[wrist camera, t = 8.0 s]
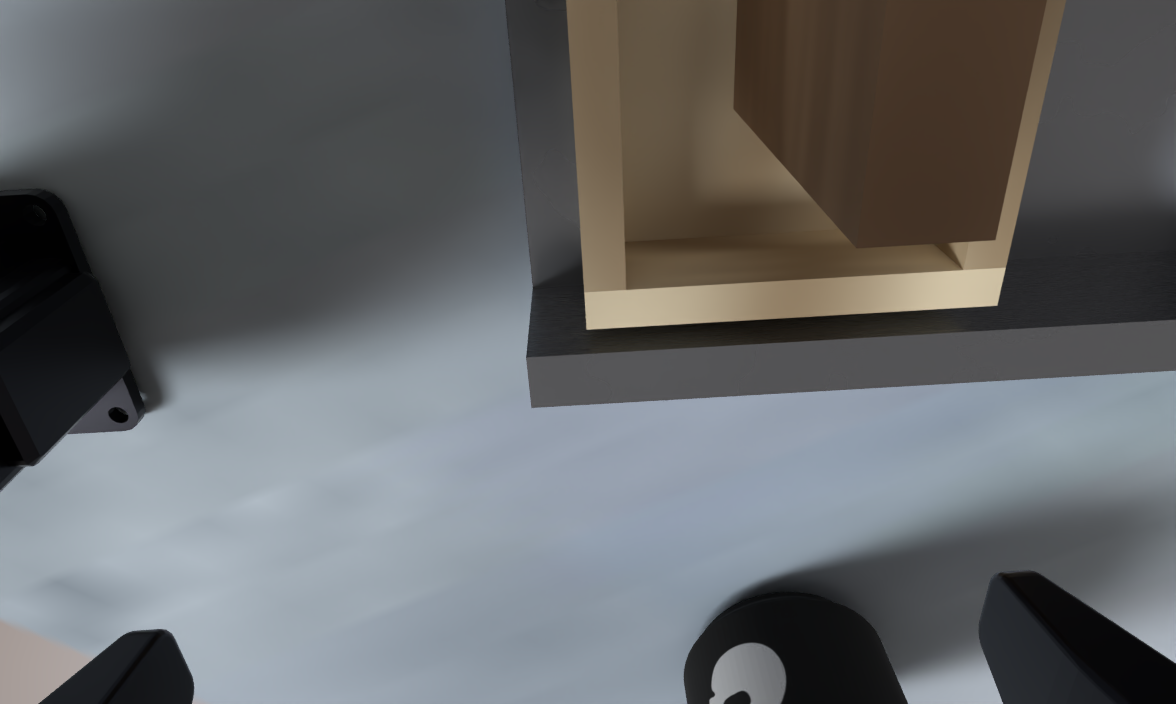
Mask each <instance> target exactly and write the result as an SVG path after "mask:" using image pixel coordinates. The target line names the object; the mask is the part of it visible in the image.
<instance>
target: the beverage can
mask: <svg viewBox="0 0 1176 704" xmlns="http://www.w3.org/2000/svg"><path fill="white" fill-rule="evenodd" d="M684 685H685V691H686V698H687V704H908V702H907V700H906V698H905V696H904V693H903V691H902V689H901V686H900V684H899V682H898V679H897V677H896V675H895V673H894V670H893V668H892V666H891V663H890V661H889V659H888V657H887V654H886V652H885V650H884V647H883V645H882V643H881V640H880V638H879V636H878V634H877V633H876V631H875V630H874V628H873V627H872V626H871V625H870V624H869V623H868V622H867V621H866V620H865V619H864V618H863V617H862V616H860V615H859V614H857V613H856V612H855V611H853V610H851V609H849V608H847V607H845V606H843V605H840V604H837V603H834V602H832V601H830V600H827V599H825V598H823V597H819V596H815V595H811V594H805V593H795V592H781V593H773V594H766V595H761V596H758V597H754V598H751V599H748V600H745V601H743V602H741V603H739V604H737V605H735V606H733V607H731V608H729V609H728V610H726V611H725V612H723V613H722V614H720V615H719V616H718V617H717V618H716V619H715V620H714V621H713V622H712V623H711V624H710V625H709V626H708V627H707V629H706V630H705V632H704V633H703V634H702V635H701V636H700V637H699V639H698V640H697V641H696V642H695V644H694V645H693V647H692V649H691V650H690V652H689V655H688V657H687V660H686V664H685V669H684Z"/></svg>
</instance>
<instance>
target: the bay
mask: <svg viewBox="0 0 1176 704" xmlns="http://www.w3.org/2000/svg"><path fill="white" fill-rule="evenodd" d="M505 5H506V15H507V25H508V36H509V46H510V56H511V67H512V77H513V87H514V98H515V108H516V118H517V129H518V139H519V149H520V159H521V170H522V180H523V190H524V201H525V211H526V221H527V232H528V242H529V252H530V263H531V273H532V283H533V292H532V302H531V313H530V323H529V334H528V344H527V355H526V360H527V369H528V379H529V388H530V397H531V407H532V408H537V407H554V406H571V405H589V404H606V403H623V402H640V401H658V400H675V399H692V398H710V397H727V396H744V395H761V394H779V393H796V392H813V391H830V390H848V389H865V388H882V387H899V386H917V385H934V384H951V383H969V382H986V381H1003V380H1020V379H1038V378H1055V377H1072V376H1089V375H1107V374H1124V373H1141V372H1158V371H1176V0H1066V3H1065V8H1064V12H1063V17H1062V21H1061V25H1060V30H1059V34H1058V39H1057V43H1056V48H1055V52H1054V56H1053V61H1052V65H1051V70H1050V74H1049V79H1048V83H1047V87H1046V92H1045V96H1044V101H1043V105H1042V110H1041V114H1040V118H1039V123H1038V127H1037V132H1036V136H1035V141H1034V145H1033V149H1032V154H1031V158H1030V163H1029V167H1028V172H1027V176H1026V180H1025V185H1024V189H1023V194H1022V198H1021V203H1020V207H1019V211H1018V216H1017V220H1016V225H1015V229H1014V234H1013V238H1012V242H1011V247H1010V251H1009V256H1008V260H1007V265H1006V269H1005V273H1004V278H1003V282H1002V287H1001V291H1000V296H999V300H998V304H997V306H984V307H967V308H950V309H933V310H915V311H898V312H881V313H864V314H847V315H830V316H813V317H796V318H779V319H762V320H745V321H727V322H710V323H693V324H676V325H659V326H642V327H625V328H608V329H591V330H587V329H586V312H585V296H584V280H583V264H582V248H581V232H580V215H579V199H578V183H577V167H576V151H575V134H574V118H573V102H572V86H571V70H570V54H569V37H568V21H567V5H566V0H505Z"/></svg>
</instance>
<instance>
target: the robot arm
mask: <svg viewBox="0 0 1176 704" xmlns="http://www.w3.org/2000/svg"><path fill="white" fill-rule="evenodd" d="M33 205H36V206H38V207H39V208H41V209H42V210H43V211H44V213H45V214H46V219H47V220H44V219H42V218H40V217H39V216H37V214H36V213H35V211H34V208H33ZM116 407H119V408H122V409H123V410H125V411H126V412H127V414H128V415H126V414H123V413H121V412H119V410H118V409H117V408H116ZM144 414H145V406H144V403H143V401H142V398H141V396H140V393H139V391H138V388H137V386H136V383H135V381H134V378H133V376H132V373H131V370H130V362H129V359H128V357H127V354H126V351H125V349H124V346H123V344H122V341H121V339H120V336H119V334H118V331H117V329H116V326H115V324H114V321H113V319H112V316H111V314H110V311H109V308H108V306H107V303H106V301H105V298H104V296H103V293H102V291H101V288H100V286H99V283H98V281H97V280H96V279H95V278H94V277H93V275H92V272H91V270H90V267H89V265H88V262H87V260H86V257H85V255H84V252H83V250H82V247H81V245H80V242H79V240H78V237H77V234H76V232H75V229H74V227H73V224H72V222H71V219H70V217H69V214H68V212H67V209H66V207H65V206H64V204H63V202H62V201H61V200H60V199H59V198H58V197H57V196H56V195H54V194H53V193H50V192H48V191H46V190H41V189H27V190H10V191H0V492H1V491H2V490H3V489H4V488H5V487H6V486H7V485H8V484H9V483H10V482H11V481H12V480H13V479H14V478H15V477H16V476H17V475H18V474H19V473H20V472H21V471H22V470H23V469H24V468H25V467H26V466H34V465H36V464H38V463H39V462H40V461H41V460H42V459H43V458H44V457H45V456H46V455H47V454H48V453H49V452H50V451H51V450H52V449H53V448H54V447H55V446H56V445H57V444H58V443H59V442H60V441H61V440H62V439H63V438H64V437H65V435H66V434H78V433H96V432H113V431H126V430H130V429H133V428H134V427H135V426H136V425H137V424H138V423H139V422H140V421H141V419H142V418H143V417H144ZM979 638H980V643H981V646H982V649H983V652H984V654H985V657H986V660H987V662H988V665H989V668H990V670H991V673H992V675H993V678H994V681H995V683H996V686H997V689H998V691H999V694H1000V696H1001V699H1002V702H1003V704H1176V663H1174V662H1173V661H1171V660H1170V659H1168V658H1167V657H1165V656H1164V655H1162V654H1161V653H1159V652H1158V651H1156V650H1155V649H1153V648H1152V647H1150V646H1149V645H1147V644H1146V643H1144V642H1143V641H1141V640H1140V639H1138V638H1137V637H1135V636H1134V635H1132V634H1131V633H1129V632H1128V631H1126V630H1124V629H1123V628H1121V627H1120V626H1118V625H1117V624H1115V623H1114V622H1112V621H1111V620H1109V619H1108V618H1106V617H1105V616H1103V615H1102V614H1100V613H1099V612H1097V611H1096V610H1094V609H1093V608H1091V607H1090V606H1088V605H1087V604H1085V603H1084V602H1082V601H1081V600H1079V599H1078V598H1076V597H1075V596H1073V595H1072V594H1070V593H1069V592H1067V591H1066V590H1064V589H1063V588H1061V587H1059V586H1058V585H1056V584H1055V583H1053V582H1052V581H1050V580H1049V579H1047V578H1046V577H1044V576H1043V575H1041V574H1039V573H1037V572H1035V571H1030V570H1024V571H1009V572H999V573H996V574H995V575H994V576H993V577H992V578H991V580H990V583H989V587H988V591H987V595H986V598H985V602H984V606H983V610H982V614H981V618H980V622H979ZM193 696H194V682H193V677H192V675H191V672H190V670H189V668H188V666H187V664H186V662H185V659H184V657H183V655H182V653H181V651H180V649H179V647H178V645H177V642H176V640H175V638H174V636H173V635H172V634H171V633H170V632H169V631H167V630H164V629H154V630H139V631H132V632H129V633H126V634H125V635H123V636H122V637H120V638H119V639H117V640H116V641H115V642H114V643H113V644H111V645H110V646H109V647H108V648H106V649H105V650H104V651H103V652H101V653H100V654H99V655H98V656H97V657H95V658H94V659H93V660H92V661H90V662H89V663H88V664H87V665H86V666H84V667H83V668H82V669H81V670H79V671H78V672H77V673H76V674H75V675H73V676H72V677H71V678H70V679H68V680H67V681H66V682H65V683H63V684H62V685H61V686H60V687H59V688H57V689H56V690H55V691H54V692H52V693H51V694H50V695H49V696H48V697H46V698H45V699H44V700H42V701H41V702H40V703H39V704H192V701H193Z"/></svg>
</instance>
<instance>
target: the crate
mask: <svg viewBox="0 0 1176 704" xmlns="http://www.w3.org/2000/svg"><path fill="white" fill-rule="evenodd" d="M1065 3H1066V0H566V5H567V21H568V37H569V54H570V70H571V86H572V102H573V118H574V134H575V151H576V167H577V183H578V199H579V215H580V232H581V248H582V264H583V280H584V296H585V312H586V329H587V330H591V329H608V328H625V327H642V326H659V325H676V324H693V323H710V322H727V321H745V320H762V319H779V318H796V317H813V316H830V315H847V314H864V313H881V312H898V311H915V310H933V309H950V308H967V307H984V306H997V304H998V300H999V296H1000V291H1001V287H1002V282H1003V278H1004V273H1005V269H1006V265H1007V260H1008V256H1009V251H1010V247H1011V242H1012V238H1013V234H1014V229H1015V225H1016V220H1017V216H1018V211H1019V207H1020V203H1021V198H1022V194H1023V189H1024V185H1025V180H1026V176H1027V172H1028V167H1029V163H1030V158H1031V154H1032V149H1033V145H1034V141H1035V136H1036V132H1037V127H1038V123H1039V118H1040V114H1041V110H1042V105H1043V101H1044V96H1045V92H1046V87H1047V83H1048V79H1049V74H1050V70H1051V65H1052V61H1053V56H1054V52H1055V48H1056V43H1057V39H1058V34H1059V30H1060V25H1061V21H1062V17H1063V12H1064V8H1065Z"/></svg>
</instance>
